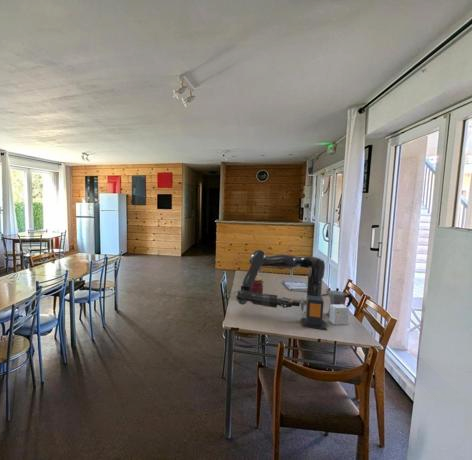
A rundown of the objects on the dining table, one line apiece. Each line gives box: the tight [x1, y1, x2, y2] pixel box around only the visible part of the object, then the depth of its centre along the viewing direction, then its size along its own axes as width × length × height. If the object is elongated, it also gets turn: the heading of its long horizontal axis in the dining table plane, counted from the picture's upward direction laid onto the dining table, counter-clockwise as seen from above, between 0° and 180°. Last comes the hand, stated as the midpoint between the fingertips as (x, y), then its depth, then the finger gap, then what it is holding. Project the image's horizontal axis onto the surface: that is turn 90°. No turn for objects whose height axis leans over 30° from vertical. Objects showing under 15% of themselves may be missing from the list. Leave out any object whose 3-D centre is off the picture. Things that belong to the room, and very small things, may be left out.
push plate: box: [300, 298, 305, 312], centre depth 173 cm, size 6×1×5 cm, turn 159°
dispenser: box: [301, 294, 327, 331], centre depth 171 cm, size 12×12×16 cm
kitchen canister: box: [250, 275, 264, 294], centre depth 221 cm, size 13×13×18 cm
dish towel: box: [282, 280, 307, 292], centre depth 247 cm, size 17×24×3 cm
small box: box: [329, 303, 349, 326], centre depth 173 cm, size 8×6×10 cm
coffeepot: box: [325, 287, 354, 317], centre depth 183 cm, size 15×9×18 cm, turn 43°
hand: (299, 304), depth 173 cm, fingers closed
